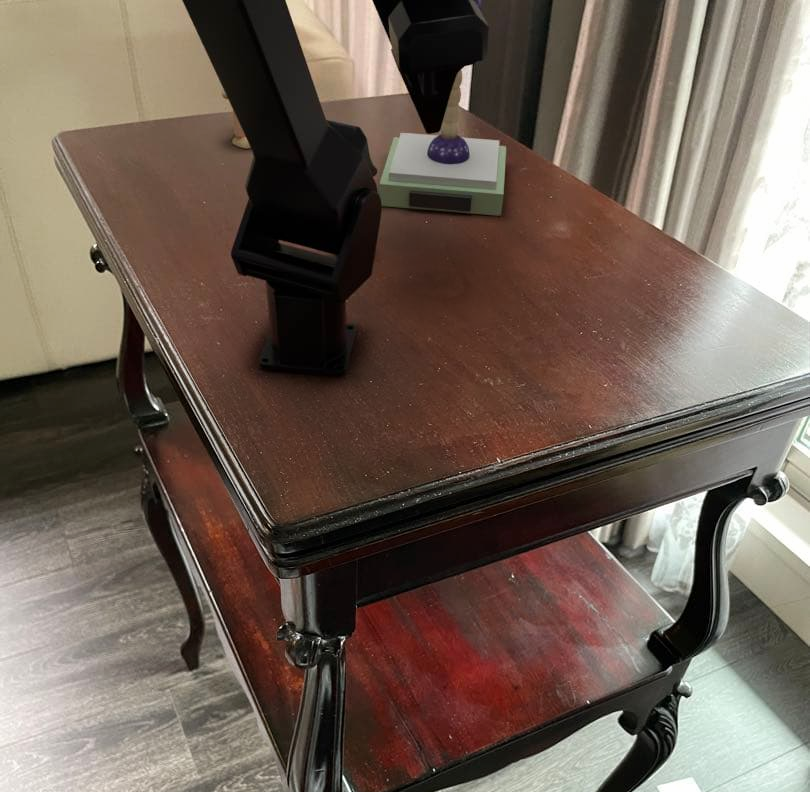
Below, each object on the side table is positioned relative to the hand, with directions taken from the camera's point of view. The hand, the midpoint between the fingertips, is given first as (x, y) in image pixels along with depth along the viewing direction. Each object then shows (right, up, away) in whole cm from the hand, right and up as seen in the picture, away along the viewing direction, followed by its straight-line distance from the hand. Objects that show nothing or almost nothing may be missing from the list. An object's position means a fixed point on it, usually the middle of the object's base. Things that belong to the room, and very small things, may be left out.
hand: (420, 101), depth 68 cm
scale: (+3, +1, +18) cm, 19 cm away
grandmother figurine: (-18, +9, +25) cm, 32 cm away
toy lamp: (+3, +3, +16) cm, 17 cm away
